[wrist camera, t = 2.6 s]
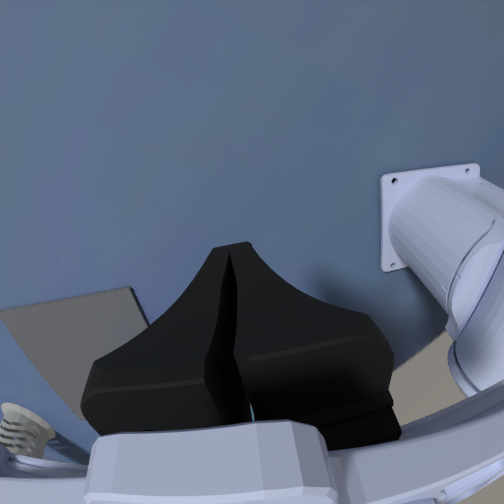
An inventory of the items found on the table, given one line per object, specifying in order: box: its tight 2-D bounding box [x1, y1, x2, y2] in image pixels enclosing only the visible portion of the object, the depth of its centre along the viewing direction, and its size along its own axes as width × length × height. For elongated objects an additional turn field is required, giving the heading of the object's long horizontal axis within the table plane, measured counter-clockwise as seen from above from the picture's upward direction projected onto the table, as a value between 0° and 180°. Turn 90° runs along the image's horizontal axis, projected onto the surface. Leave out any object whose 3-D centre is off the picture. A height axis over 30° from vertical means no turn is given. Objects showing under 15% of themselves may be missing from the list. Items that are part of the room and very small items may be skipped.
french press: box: [0, 403, 56, 459], centre depth 23 cm, size 10×12×25 cm
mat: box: [0, 287, 149, 420], centre depth 28 cm, size 16×18×1 cm
